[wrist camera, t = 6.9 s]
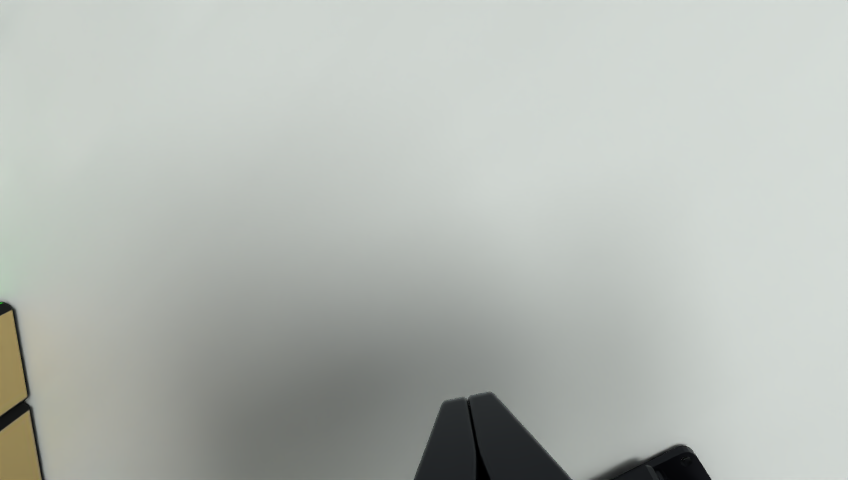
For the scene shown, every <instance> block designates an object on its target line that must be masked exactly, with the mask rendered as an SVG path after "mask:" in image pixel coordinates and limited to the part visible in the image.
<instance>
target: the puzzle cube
mask: <svg viewBox="0 0 848 480" xmlns="http://www.w3.org/2000/svg"><path fill="white" fill-rule="evenodd" d="M27 397H28V396H27V390H26V385H25V379H24V373H23V368H22V362H21V356H20V351H19V345H18V339H17V334H16V328H15V322H14V317H13V311H12V307H11V306H10V305H8V304H6V303H3V302H0V480H42V478H41V472H40V467H39V461H38V455H37V450H36V444H35V438H34V433H33V427H32V421H31V416H30V410H29V406H28V405H27V404H24V403H21V402H22V401H23V400H25V399H26V398H27Z"/></svg>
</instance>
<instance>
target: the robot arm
mask: <svg viewBox="0 0 848 480" xmlns="http://www.w3.org/2000/svg"><path fill="white" fill-rule="evenodd" d="M468 402H469V403H468ZM683 457H687V458H686V459H685V460H681V459H682V458H683ZM414 480H572V479H571V478H570V477H569V475H568V474H567V473H566V472H565V471H564V470H563V469H562V468H561V467H560V466H559V464H558V463H557V462H556V461H555V460H554V459H553V458H552V457H551V456H550V455H549V453H548V452H547V451H546V450H545V449H544V448H543V447H542V446H541V445H540V444H539V442H538V441H537V440H536V439H535V438H534V437H533V436H532V435H531V434H530V433H529V432H528V430H527V429H526V428H525V427H524V426H523V425H522V424H521V423H520V422H519V421H518V419H517V418H516V417H515V416H514V415H513V414H512V413H511V412H510V411H509V410H508V408H507V407H506V406H505V405H504V404H503V403H502V402H501V401H500V400H499V399H498V398H497V396H496V395H495V394H494V393H492V392H485V393H480V394H475V395H471V396H470V397H469V399H468V400H467V398H465V397H460V398H455V399H450V400H446V401H444V402H443V403H442V405H441V407H440V410H439V413H438V415H437V418H436V421H435V423H434V426H433V429H432V431H431V434H430V437H429V440H428V442H427V445H426V448H425V450H424V453H423V456H422V458H421V461H420V464H419V467H418V469H417V472H416V475H415V477H414ZM612 480H711V478H710V477H709V475H708V474H707V472H706V470H705V469H704V467H703V466H702V464H701V462H700V461H699V459H698V458H697V456H696V455H695V453H694V452H693V450H692V449H691V448H689V447H687V446H680V447H677V448H675V449H673V450H671V451H669V452H667V453H665V454H663V455H661V456H658V457H656V458H654V459H652V460H650V461H648V462H646V463H644V464H642V465H640V466H638V467H636V468H634V469H632V470H630V471H628V472H626V473H624V474H622V475H620V476H618V477H616V478H614V479H612Z"/></svg>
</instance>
